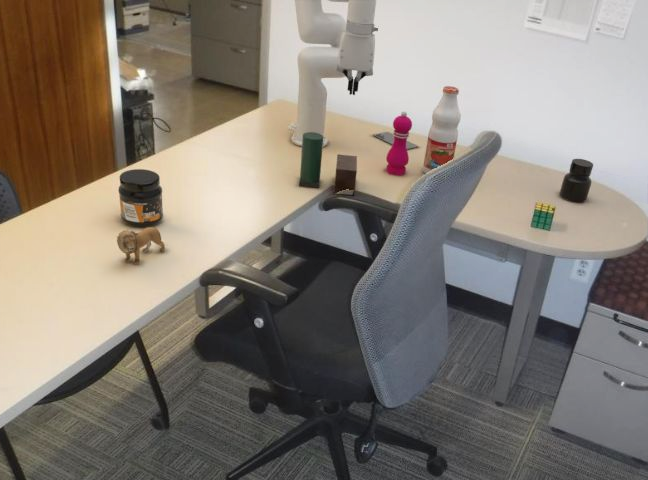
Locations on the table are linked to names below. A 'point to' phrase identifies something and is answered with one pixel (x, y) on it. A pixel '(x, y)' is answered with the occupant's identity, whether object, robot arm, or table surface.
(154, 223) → the supplement container
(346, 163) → the walnut block
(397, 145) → the pepper mill
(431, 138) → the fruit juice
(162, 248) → the lion figurine
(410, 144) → the smartphone
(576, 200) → the ink bottle
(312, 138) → the green tube
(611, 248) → the table surface
